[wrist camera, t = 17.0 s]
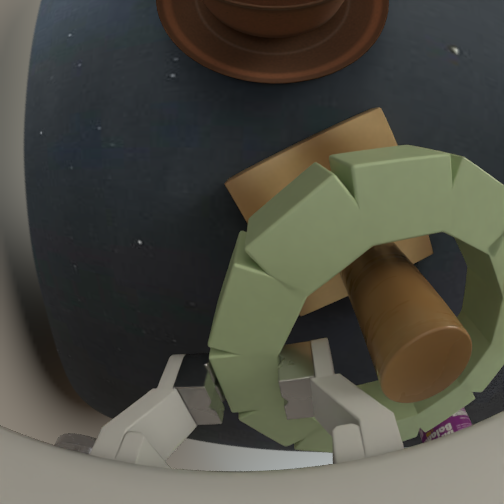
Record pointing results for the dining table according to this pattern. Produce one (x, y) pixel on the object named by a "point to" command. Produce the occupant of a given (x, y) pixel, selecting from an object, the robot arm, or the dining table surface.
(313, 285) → the ring
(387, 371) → the hanger post
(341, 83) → the dining table surface
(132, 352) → the dining table surface
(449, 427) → the pill bottle
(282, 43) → the cup and saucer
